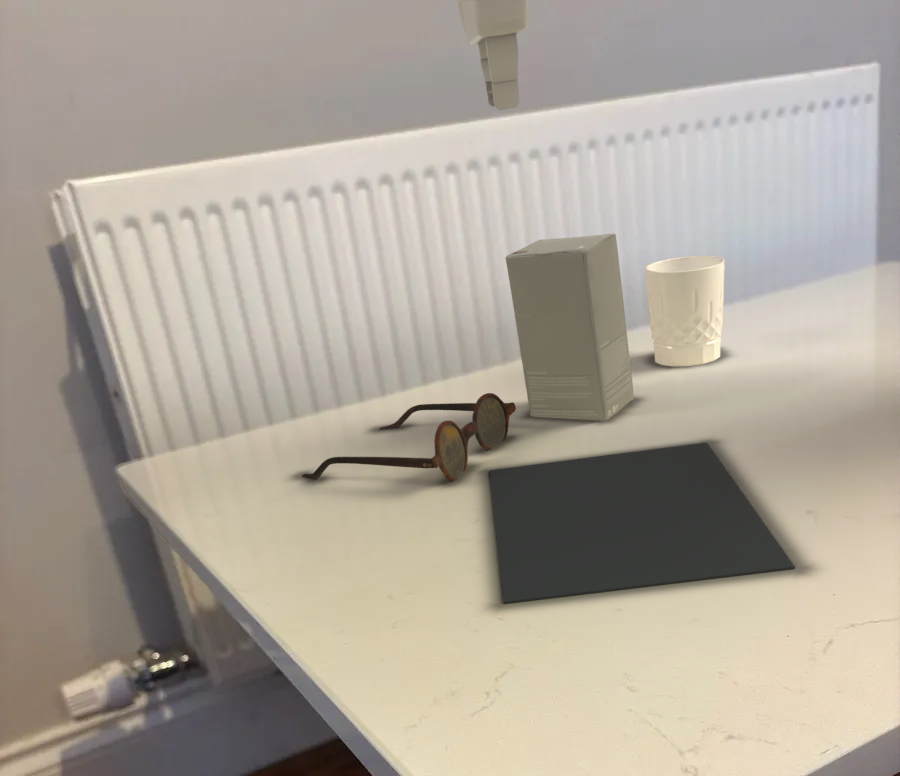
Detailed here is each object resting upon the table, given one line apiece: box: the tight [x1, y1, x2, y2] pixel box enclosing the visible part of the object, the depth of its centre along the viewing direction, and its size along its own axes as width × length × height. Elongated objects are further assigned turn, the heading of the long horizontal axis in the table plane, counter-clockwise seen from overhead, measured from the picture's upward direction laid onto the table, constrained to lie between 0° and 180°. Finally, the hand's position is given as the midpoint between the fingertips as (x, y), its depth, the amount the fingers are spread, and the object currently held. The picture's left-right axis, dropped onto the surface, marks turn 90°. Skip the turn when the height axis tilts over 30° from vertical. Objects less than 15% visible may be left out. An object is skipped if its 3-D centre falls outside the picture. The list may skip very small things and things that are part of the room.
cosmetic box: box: [505, 233, 635, 422], centre depth 94 cm, size 8×7×16 cm
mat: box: [489, 442, 796, 605], centre depth 74 cm, size 18×24×1 cm
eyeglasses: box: [301, 392, 517, 482], centre depth 91 cm, size 15×15×5 cm
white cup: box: [644, 255, 726, 367], centre depth 106 cm, size 8×8×10 cm
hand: (503, 107), depth 79 cm, fingers open, 8 cm apart
